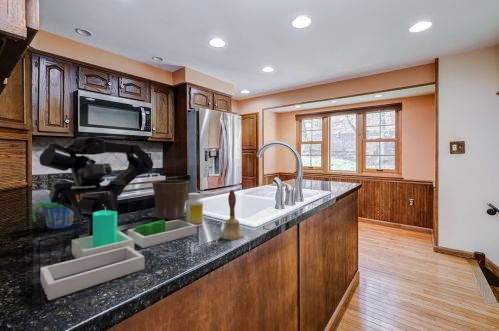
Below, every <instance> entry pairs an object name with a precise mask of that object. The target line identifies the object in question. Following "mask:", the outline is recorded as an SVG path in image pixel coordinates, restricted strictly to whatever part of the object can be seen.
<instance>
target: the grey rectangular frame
mask: <svg viewBox="0 0 499 331" xmlns="http://www.w3.org/2000/svg"><path fill="white" fill-rule="evenodd" d="M145 268H146V266H145V256H144V255H143V254H141V253H140V252H139V251H137V250H135V248H134V249H132V248H131V247H129V246H126V247H122V248H118V249H114V250H110V251H106V252H102V253H98V254H94V255H90V256H86V257H82V258H78V259H76V258H74V259H70V260H66V261H63V262H58V263H54V264H50V265H46V266H42V267H40V274H39V275H40V284H41V286H42V289H43V288H44V289H43V290H44V293H45V296H46V295H47V296H46V297H47V301H48V300H49V301H51V300H54V299H57V298H60V297H63V296H66V295H69V294H72V293H75V292H78V291H81V290H85V289H87V288H91V287H93V286H96V285H99V284H102V283H106V282H109V281H111V280H115V279H117V278H120V277H123V276H126V275H129V274H132V273H136V272H139V271H141V270H142V271H143V270H144V269H145Z"/></svg>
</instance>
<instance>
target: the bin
mask: <svg viewBox="0 0 499 331" xmlns="http://www.w3.org/2000/svg"><path fill="white" fill-rule="evenodd" d="M126 246H129V247H131V248H132V249H134V250H135V243H134V239H132V238H131V237H129V236H127V234H125V233H124V232H122V231H120V230H117V243H112V244H108V245H104V246H99V247H95V248H93V236H88V237H87V236H85V237H80V238H75V239H73V238H72V239H71V255H72V256H73V257H74V259H78V258H82V257H86V256H90V255H94V254H98V253H102V252H106V251H110V250H114V249H118V248H122V247H126Z"/></svg>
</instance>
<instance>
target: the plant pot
mask: <svg viewBox="0 0 499 331" xmlns="http://www.w3.org/2000/svg"><path fill="white" fill-rule="evenodd" d="M151 184H152V191H153V192H154V195H153V196H154V202H155V203H154V205H155V217H156V218H157V219H159V220H165V219H167V220H178V219H181V218H183V217H184V216H185V212H186V201H187V200H186V199H187V191H188V188H189V187H188V186H189V184H190V181H189V180H188V181H187V180H175V179H174V180H170V179H169V180H155V181H151Z"/></svg>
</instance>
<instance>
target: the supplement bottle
mask: <svg viewBox="0 0 499 331" xmlns="http://www.w3.org/2000/svg"><path fill="white" fill-rule="evenodd" d="M187 197H188V199H187V200H186V201H185V222H188V223H191V224H194V225H197V228H199V227H201V226H203V223H204V222H203V219H204V218H203V216H204V215H203V214H204V213H203V212H204V211H203V210H204V209H203V208H204V206H203V205H204V204H203V200H202V199H201V198H200V197H201V193H199V192H189V193H188V194H187Z"/></svg>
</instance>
